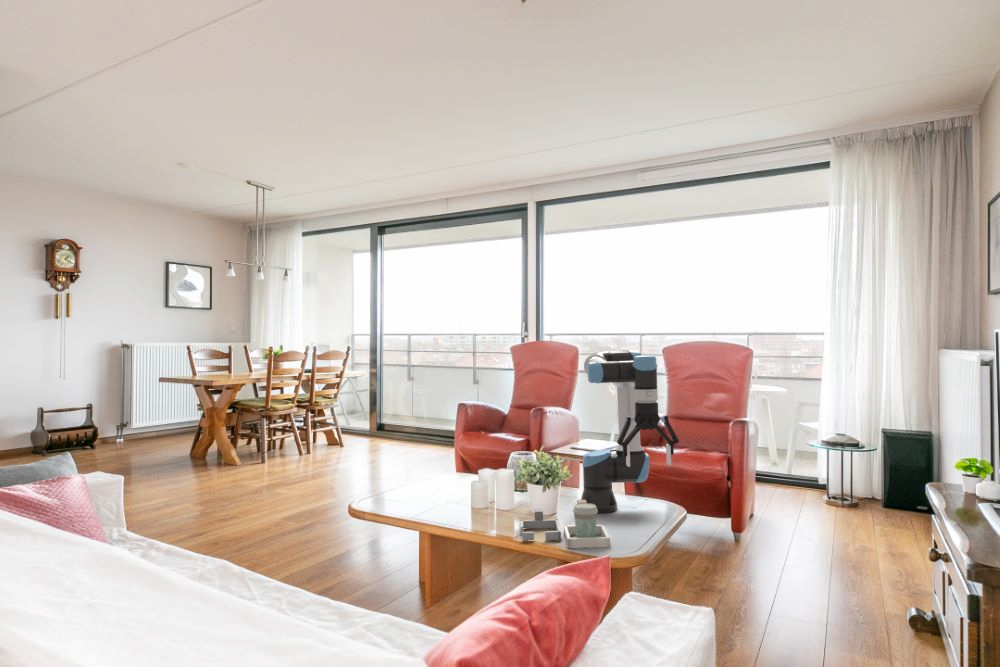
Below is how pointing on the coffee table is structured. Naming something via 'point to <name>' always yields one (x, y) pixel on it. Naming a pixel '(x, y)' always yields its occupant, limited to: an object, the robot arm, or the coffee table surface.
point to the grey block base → (540, 524)
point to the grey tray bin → (586, 542)
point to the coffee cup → (585, 519)
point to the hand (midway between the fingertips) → (648, 465)
